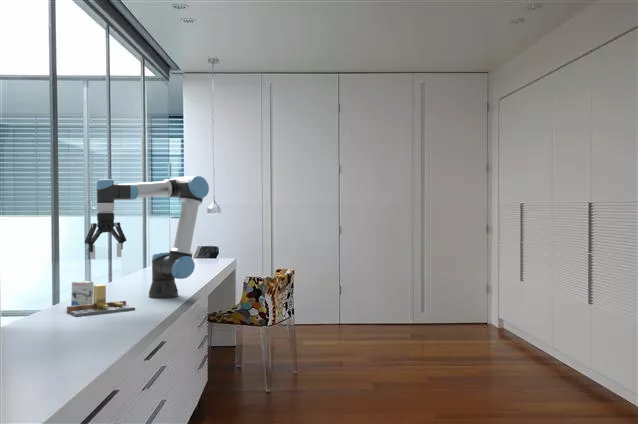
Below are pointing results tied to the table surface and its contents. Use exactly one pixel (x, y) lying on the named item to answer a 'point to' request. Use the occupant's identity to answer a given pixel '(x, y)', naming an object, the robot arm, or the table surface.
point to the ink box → (82, 293)
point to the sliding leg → (99, 296)
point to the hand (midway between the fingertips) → (106, 258)
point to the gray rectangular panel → (101, 310)
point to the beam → (94, 306)
